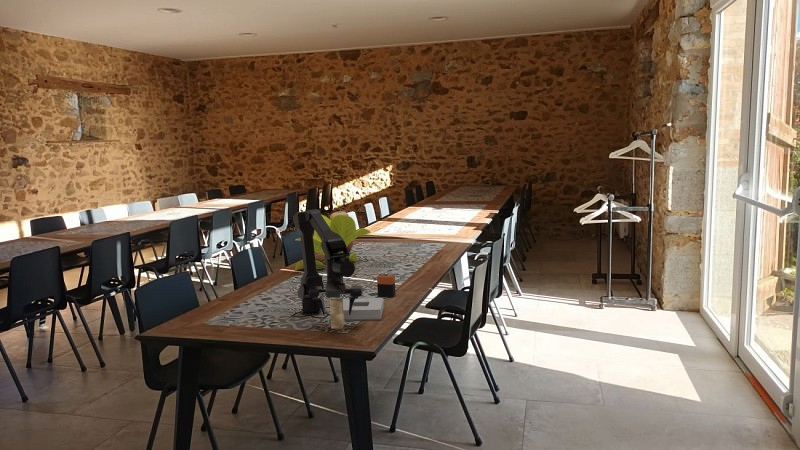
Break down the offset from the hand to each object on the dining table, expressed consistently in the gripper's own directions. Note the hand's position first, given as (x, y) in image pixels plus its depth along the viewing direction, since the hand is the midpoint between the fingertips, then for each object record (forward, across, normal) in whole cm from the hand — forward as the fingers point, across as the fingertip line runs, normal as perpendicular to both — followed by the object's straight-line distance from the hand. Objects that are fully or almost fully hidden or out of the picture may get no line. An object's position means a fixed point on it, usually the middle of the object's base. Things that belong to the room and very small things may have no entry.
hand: (337, 314), depth 222 cm
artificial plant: (+5, -17, +100) cm, 101 cm away
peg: (+4, 0, 0) cm, 4 cm away
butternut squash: (+5, -17, +135) cm, 136 cm away
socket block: (+4, +7, +15) cm, 17 cm away
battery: (+5, +15, +41) cm, 44 cm away
